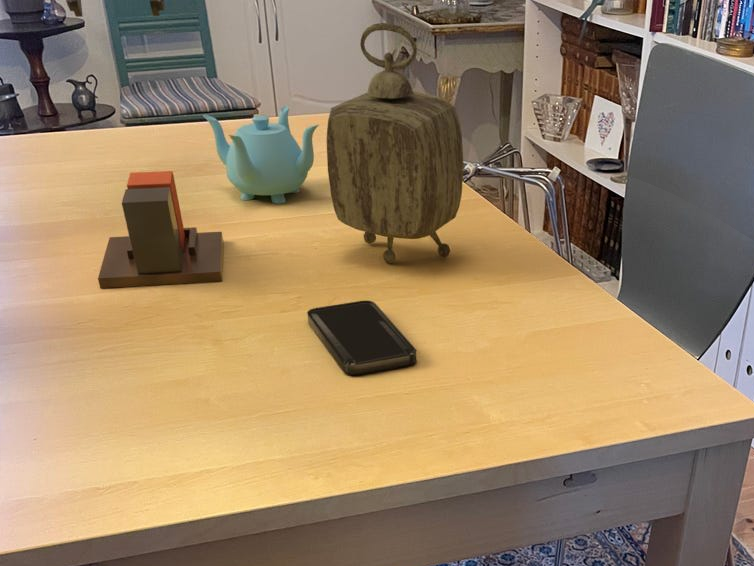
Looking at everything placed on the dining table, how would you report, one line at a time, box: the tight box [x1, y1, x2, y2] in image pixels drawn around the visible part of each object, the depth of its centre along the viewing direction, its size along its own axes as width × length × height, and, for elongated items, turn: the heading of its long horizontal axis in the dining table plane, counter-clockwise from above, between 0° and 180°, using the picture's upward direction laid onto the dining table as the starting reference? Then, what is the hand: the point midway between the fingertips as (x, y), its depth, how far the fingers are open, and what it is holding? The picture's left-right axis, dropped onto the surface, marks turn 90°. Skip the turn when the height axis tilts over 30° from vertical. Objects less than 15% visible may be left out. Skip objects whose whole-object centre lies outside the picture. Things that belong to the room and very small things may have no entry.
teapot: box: [202, 105, 320, 204], centre depth 133 cm, size 13×13×10 cm
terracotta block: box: [126, 170, 185, 252], centre depth 114 cm, size 5×5×8 cm
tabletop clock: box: [326, 22, 465, 265], centre depth 110 cm, size 14×9×25 cm, turn 66°
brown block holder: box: [97, 187, 224, 289], centre depth 113 cm, size 14×14×9 cm
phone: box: [306, 299, 418, 376], centre depth 99 cm, size 8×1×15 cm
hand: (116, 11), depth 107 cm, fingers open, 8 cm apart
